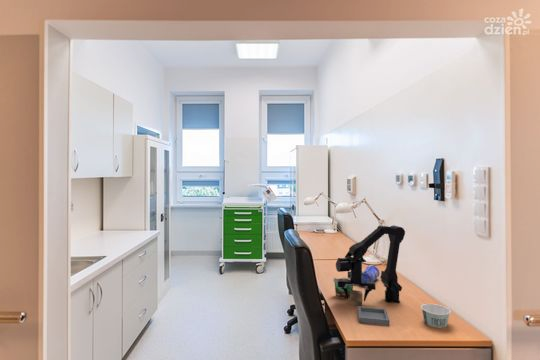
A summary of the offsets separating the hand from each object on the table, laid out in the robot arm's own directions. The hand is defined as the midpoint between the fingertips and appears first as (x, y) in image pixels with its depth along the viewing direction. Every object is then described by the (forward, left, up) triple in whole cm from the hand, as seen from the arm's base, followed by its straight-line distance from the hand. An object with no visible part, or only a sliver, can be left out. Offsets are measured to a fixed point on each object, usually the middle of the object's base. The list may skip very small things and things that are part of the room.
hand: (356, 300), depth 168 cm
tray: (-7, +16, -2) cm, 18 cm away
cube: (0, 0, -2) cm, 2 cm away
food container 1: (+5, -9, -2) cm, 10 cm away
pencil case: (-9, -37, -2) cm, 38 cm away
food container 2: (-34, +15, -2) cm, 37 cm away
